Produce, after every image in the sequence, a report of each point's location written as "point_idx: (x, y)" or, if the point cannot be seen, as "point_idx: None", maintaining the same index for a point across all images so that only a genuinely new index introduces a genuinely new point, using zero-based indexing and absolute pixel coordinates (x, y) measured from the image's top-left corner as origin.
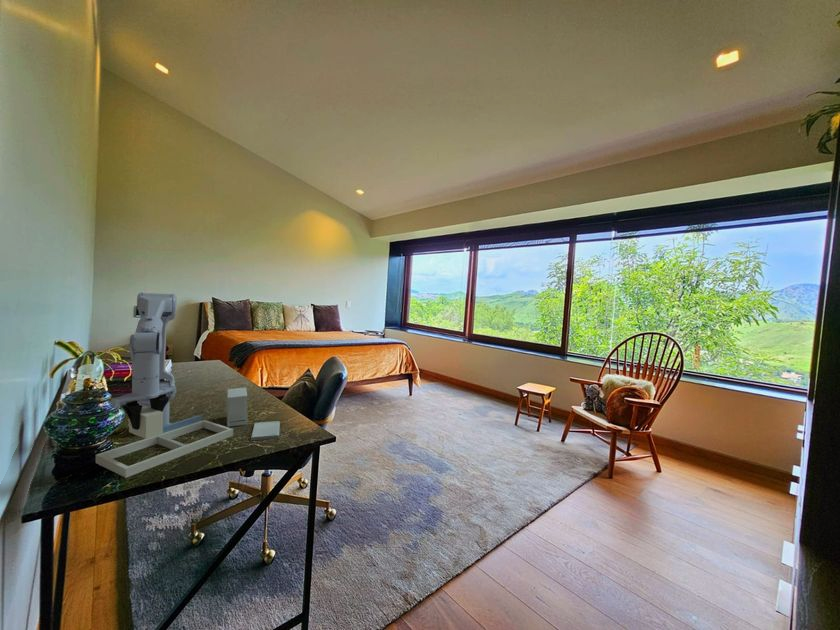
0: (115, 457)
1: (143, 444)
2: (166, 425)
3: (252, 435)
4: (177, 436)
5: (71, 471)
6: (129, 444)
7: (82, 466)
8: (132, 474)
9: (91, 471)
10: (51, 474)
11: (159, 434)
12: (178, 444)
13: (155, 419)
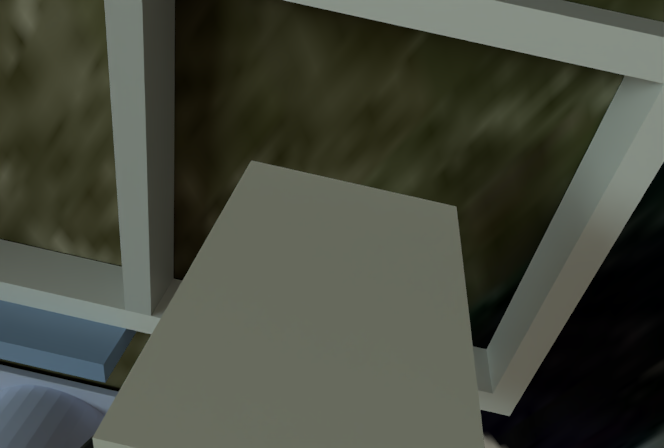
0: None
1: None
2: (39, 362)
3: None
4: (35, 249)
5: (616, 393)
6: None
7: (552, 392)
8: (639, 18)
9: (604, 315)
10: (658, 438)
11: (293, 170)
12: (142, 49)
13: (301, 367)
